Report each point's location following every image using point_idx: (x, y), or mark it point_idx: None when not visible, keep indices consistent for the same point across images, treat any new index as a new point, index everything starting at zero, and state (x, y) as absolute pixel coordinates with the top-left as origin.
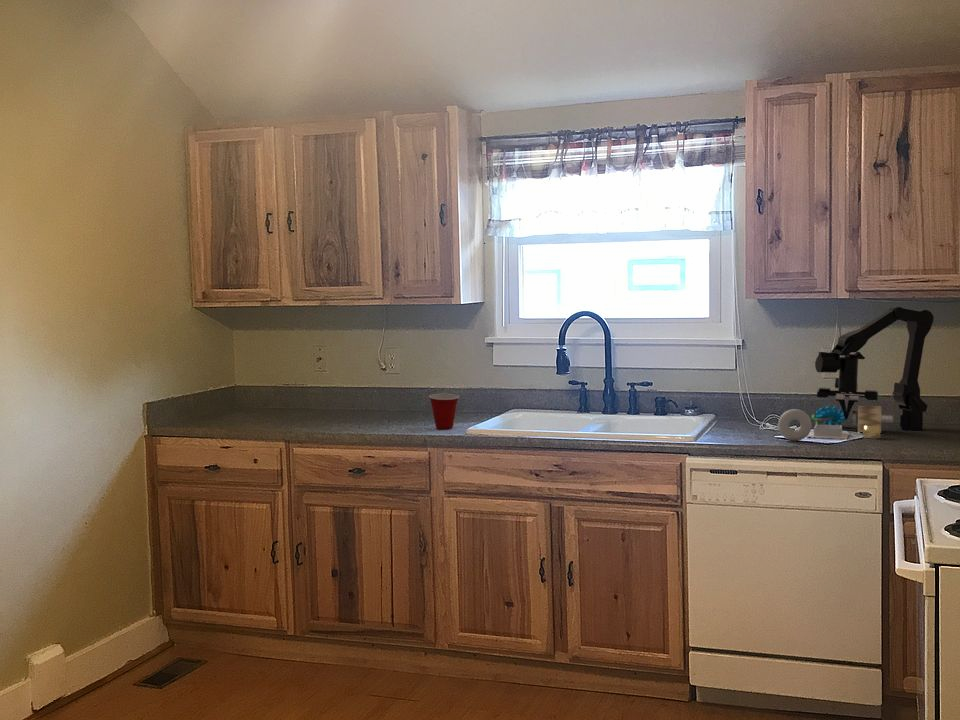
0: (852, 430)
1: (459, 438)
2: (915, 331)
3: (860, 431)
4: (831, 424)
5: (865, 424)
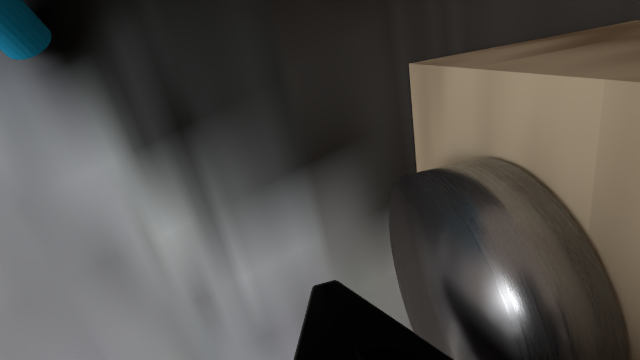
0: (355, 147)
1: None
2: None
3: None
4: (7, 20)
5: None
